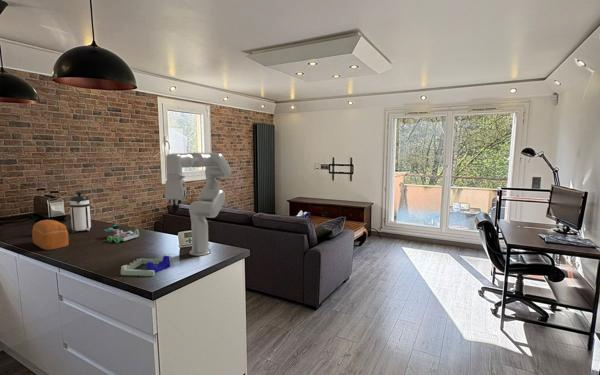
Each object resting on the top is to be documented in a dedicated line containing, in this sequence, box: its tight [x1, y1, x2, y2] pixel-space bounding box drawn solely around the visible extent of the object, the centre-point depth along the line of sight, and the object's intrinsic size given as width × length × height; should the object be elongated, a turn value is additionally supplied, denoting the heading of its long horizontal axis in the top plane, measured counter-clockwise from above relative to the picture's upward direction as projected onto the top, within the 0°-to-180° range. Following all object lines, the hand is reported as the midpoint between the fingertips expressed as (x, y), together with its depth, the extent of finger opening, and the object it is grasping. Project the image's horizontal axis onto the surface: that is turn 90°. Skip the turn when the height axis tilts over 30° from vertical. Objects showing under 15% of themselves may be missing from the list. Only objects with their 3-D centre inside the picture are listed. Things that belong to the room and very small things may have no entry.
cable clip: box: [146, 255, 171, 274], centre depth 165 cm, size 12×4×6 cm, turn 156°
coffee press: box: [68, 191, 92, 234], centre depth 244 cm, size 17×16×30 cm
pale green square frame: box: [120, 258, 163, 277], centre depth 166 cm, size 17×17×4 cm
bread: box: [31, 219, 69, 251], centre depth 208 cm, size 14×26×16 cm, turn 53°
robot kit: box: [104, 224, 140, 244], centre depth 224 cm, size 19×25×9 cm
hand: (175, 212), depth 169 cm, fingers closed
